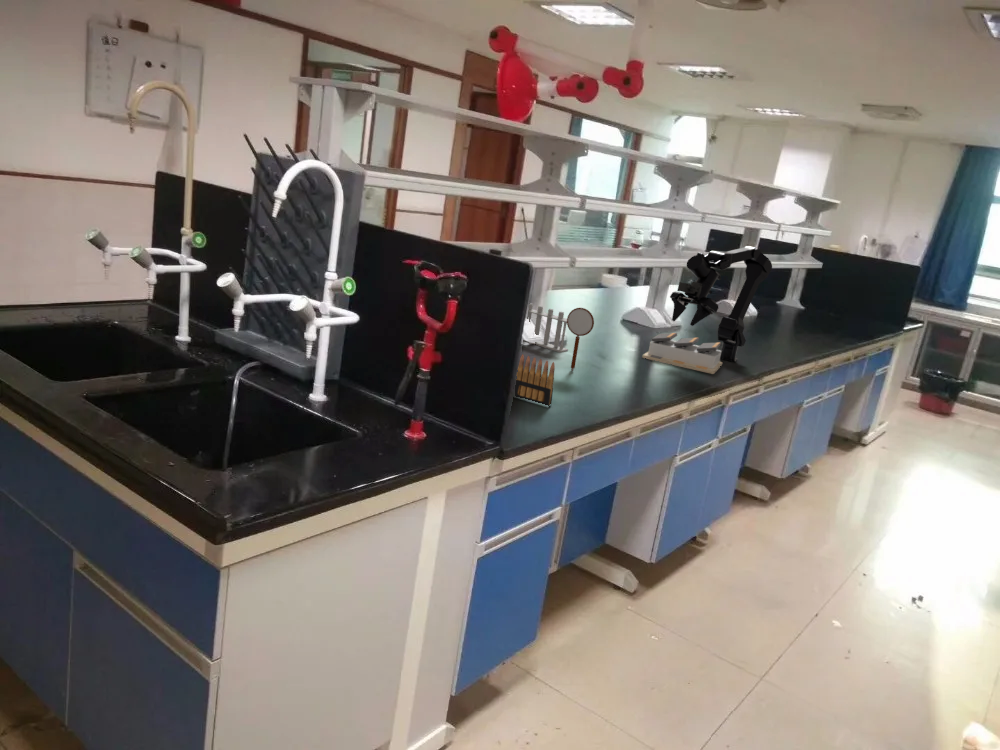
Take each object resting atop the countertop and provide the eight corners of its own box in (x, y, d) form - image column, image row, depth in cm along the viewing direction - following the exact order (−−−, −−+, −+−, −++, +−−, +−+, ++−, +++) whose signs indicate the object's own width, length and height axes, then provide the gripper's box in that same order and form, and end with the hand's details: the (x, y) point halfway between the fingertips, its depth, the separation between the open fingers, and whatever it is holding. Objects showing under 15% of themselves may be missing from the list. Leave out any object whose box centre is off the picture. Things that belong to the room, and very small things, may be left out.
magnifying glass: (586, 373, 230) (596, 310, 225) (584, 374, 229) (595, 311, 223) (560, 367, 234) (570, 304, 228) (558, 368, 232) (568, 305, 227)
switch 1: (659, 336, 274) (659, 333, 274) (677, 335, 271) (677, 332, 271) (651, 341, 264) (651, 337, 263) (670, 340, 261) (669, 337, 261)
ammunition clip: (511, 397, 196) (517, 353, 193) (514, 396, 198) (521, 352, 194) (548, 408, 192) (555, 363, 188) (551, 406, 193) (558, 362, 190)
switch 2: (703, 345, 268) (703, 342, 268) (721, 345, 265) (721, 341, 265) (696, 351, 258) (696, 347, 257) (715, 350, 255) (715, 347, 255)
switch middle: (681, 341, 271) (681, 337, 271) (699, 340, 268) (698, 337, 268) (674, 346, 261) (673, 342, 260) (692, 345, 258) (692, 342, 258)
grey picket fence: (503, 335, 268) (508, 299, 264) (511, 334, 271) (516, 298, 267) (560, 352, 253) (566, 314, 250) (567, 351, 257) (574, 314, 253)
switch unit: (654, 349, 278) (657, 334, 276) (722, 364, 269) (725, 348, 267) (642, 357, 262) (645, 341, 260) (713, 374, 253) (717, 357, 251)
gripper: (671, 269, 262) (650, 307, 261) (709, 275, 246) (686, 315, 245) (690, 285, 268) (669, 322, 267) (728, 292, 252) (706, 332, 251)
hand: (682, 323), depth 257 cm, fingers open, 9 cm apart
